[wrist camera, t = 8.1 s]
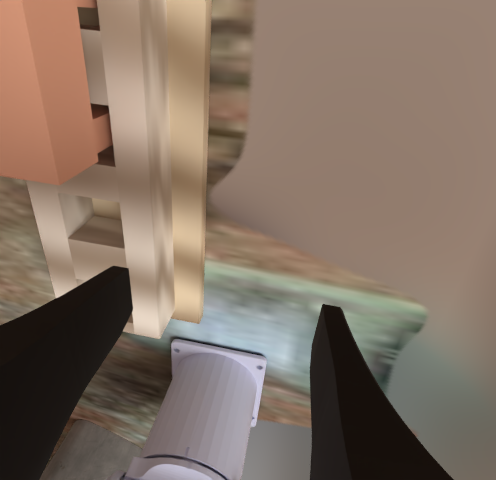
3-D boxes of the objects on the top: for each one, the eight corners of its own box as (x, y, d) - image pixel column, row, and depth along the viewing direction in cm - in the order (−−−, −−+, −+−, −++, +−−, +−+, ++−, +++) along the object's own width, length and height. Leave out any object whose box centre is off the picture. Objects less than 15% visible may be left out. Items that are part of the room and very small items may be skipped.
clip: (135, 138, 21) (59, 185, 15) (86, 131, 21) (-8, 174, 15) (121, -37, 16) (7, -71, 10) (60, -43, 17) (-85, -79, 11)
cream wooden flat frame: (202, 314, 28) (186, 354, 25) (72, 289, 29) (39, 324, 26) (214, -96, 15) (183, -129, 12) (-17, -113, 17) (-104, -147, 13)
